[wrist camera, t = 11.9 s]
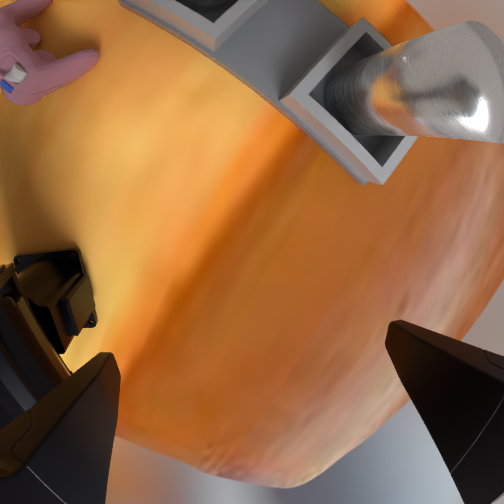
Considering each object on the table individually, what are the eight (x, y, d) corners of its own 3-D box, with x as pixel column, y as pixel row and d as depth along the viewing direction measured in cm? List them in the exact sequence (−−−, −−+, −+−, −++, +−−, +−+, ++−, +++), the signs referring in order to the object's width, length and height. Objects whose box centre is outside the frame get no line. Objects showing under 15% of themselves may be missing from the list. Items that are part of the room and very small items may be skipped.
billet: (338, 143, 19) (475, 155, 8) (313, 75, 17) (434, 17, 6) (394, 126, 19) (531, 133, 8) (373, 63, 17) (502, 25, 6)
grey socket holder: (121, 5, 14) (108, -15, 11) (201, -62, 13) (202, -86, 10) (358, 183, 21) (383, 190, 18) (415, 107, 20) (443, 104, 17)
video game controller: (27, 29, 14) (-40, 42, 8) (54, -13, 12) (-16, -11, 6) (76, 100, 18) (3, 127, 12) (110, 56, 15) (30, 68, 10)
